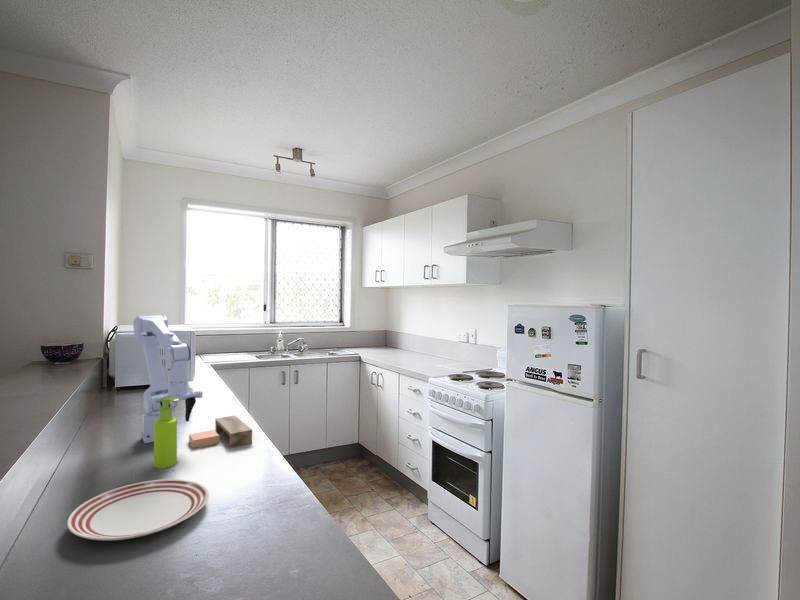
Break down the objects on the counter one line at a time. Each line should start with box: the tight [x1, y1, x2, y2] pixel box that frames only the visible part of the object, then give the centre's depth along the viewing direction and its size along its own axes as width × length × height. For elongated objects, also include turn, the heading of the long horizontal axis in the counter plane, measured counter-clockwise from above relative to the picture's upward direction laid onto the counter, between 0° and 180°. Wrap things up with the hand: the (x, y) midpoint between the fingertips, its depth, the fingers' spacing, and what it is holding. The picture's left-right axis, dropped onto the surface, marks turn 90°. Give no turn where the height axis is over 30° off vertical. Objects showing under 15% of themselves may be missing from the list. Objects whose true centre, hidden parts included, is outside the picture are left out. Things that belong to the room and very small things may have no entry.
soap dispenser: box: [153, 397, 180, 469], centre depth 125 cm, size 6×7×20 cm
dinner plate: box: [66, 478, 210, 542], centre depth 97 cm, size 27×27×3 cm
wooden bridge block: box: [214, 415, 253, 448], centre depth 149 cm, size 7×20×5 cm, turn 37°
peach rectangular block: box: [188, 429, 220, 449], centre depth 144 cm, size 8×7×3 cm
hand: (177, 422), depth 139 cm, fingers open, 5 cm apart
